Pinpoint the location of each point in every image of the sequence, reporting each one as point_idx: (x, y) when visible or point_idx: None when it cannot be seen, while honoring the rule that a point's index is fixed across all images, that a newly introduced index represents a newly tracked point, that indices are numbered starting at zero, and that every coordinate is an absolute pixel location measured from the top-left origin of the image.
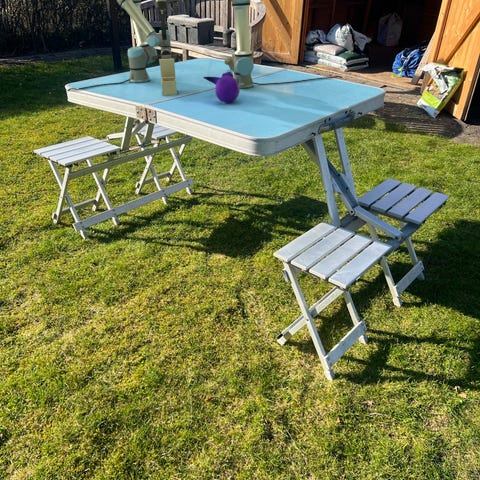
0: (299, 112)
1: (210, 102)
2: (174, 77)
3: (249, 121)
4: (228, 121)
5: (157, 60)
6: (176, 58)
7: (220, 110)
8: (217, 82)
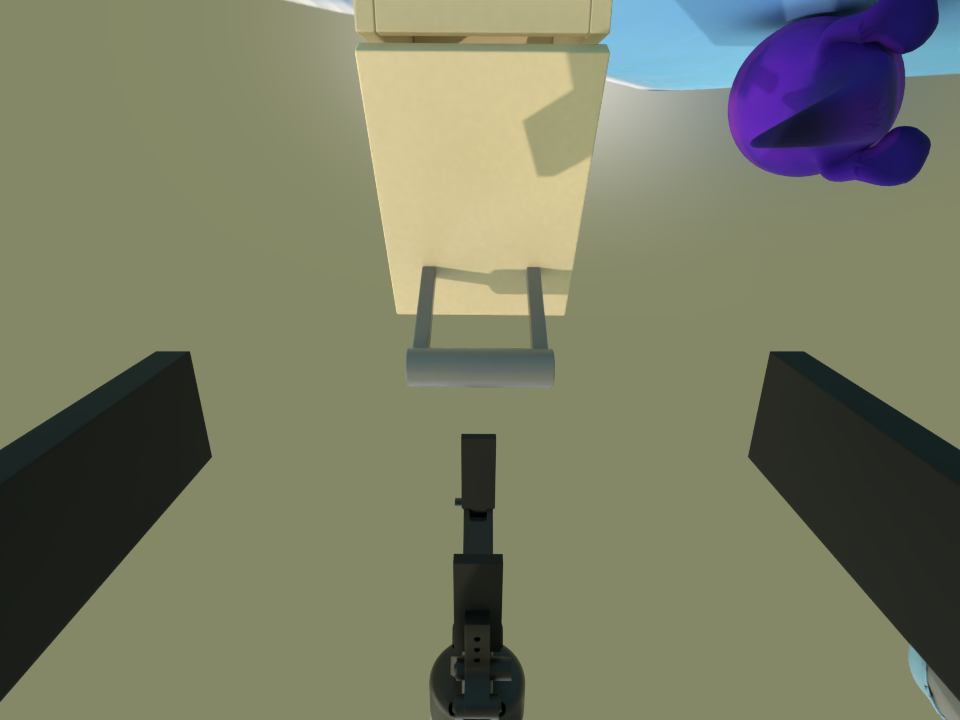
0: (934, 64)
1: (731, 8)
2: (587, 37)
3: (710, 72)
4: (652, 70)
5: (103, 452)
6: (765, 429)
7: (693, 46)
8: (744, 143)
